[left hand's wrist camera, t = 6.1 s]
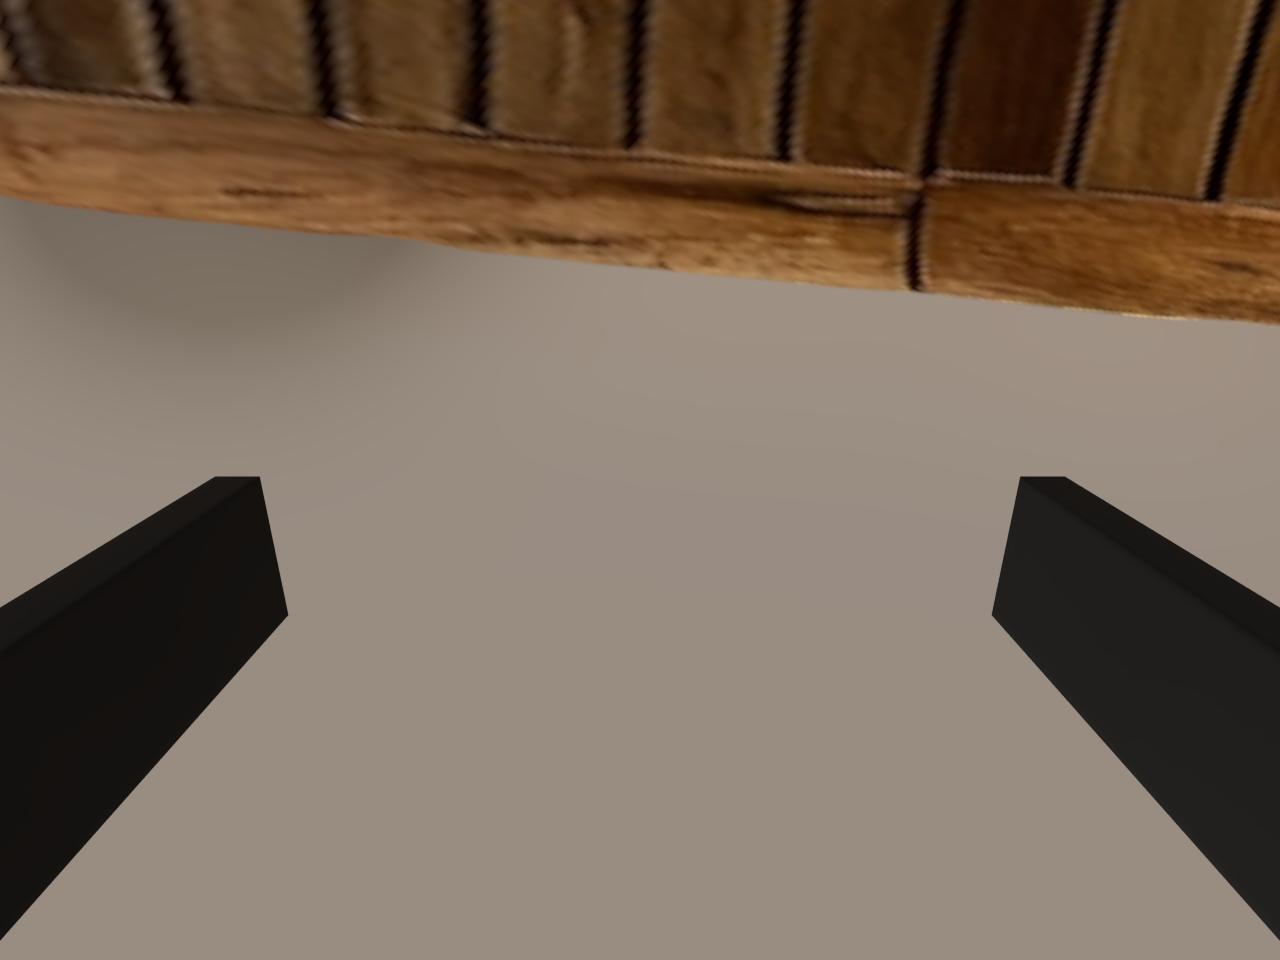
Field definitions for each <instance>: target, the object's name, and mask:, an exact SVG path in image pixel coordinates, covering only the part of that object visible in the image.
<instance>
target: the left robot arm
mask: <svg viewBox="0 0 1280 960" xmlns="http://www.w3.org/2000/svg"><path fill="white" fill-rule="evenodd" d="M287 616H288V611H287V606H286V601H285V596H284V592H283V587H282V582H281V577H280V572H279V568H278V563H277V558H276V553H275V548H274V544H273V538H272V534H271V529H270V524H269V519H268V514H267V510H266V505H265V500H264V495H263V490H262V486H261V481H260V477H214V478H212V479H210V480H209V481H207V482H206V483H204V484H202V485H201V486H199V487H197V488H196V489H194V490H192V491H191V492H189V493H188V494H186V495H184V496H183V497H181V498H179V499H178V500H176V501H174V502H173V503H171V504H169V505H168V506H166V507H164V508H163V509H161V510H160V511H158V512H156V513H155V514H153V515H151V516H150V517H148V518H146V519H145V520H143V521H142V522H140V523H138V524H137V525H135V526H133V527H132V528H130V529H128V530H127V531H125V532H123V533H122V534H120V535H119V536H117V537H115V538H114V539H112V540H110V541H109V542H107V543H105V544H104V545H102V546H101V547H99V548H97V549H96V550H94V551H92V552H91V553H89V554H87V555H86V556H84V557H83V558H81V559H79V560H78V561H76V562H74V563H73V564H71V565H69V566H68V567H66V568H64V569H63V570H61V571H59V572H58V573H56V574H55V575H53V576H51V577H50V578H48V579H46V580H45V581H43V582H41V583H40V584H38V585H36V586H35V587H33V588H32V589H30V590H28V591H27V592H25V593H23V594H22V595H20V596H18V597H17V598H15V599H14V600H12V601H10V602H9V603H7V604H5V605H4V606H2V607H0V940H1V939H2V938H3V937H4V936H5V934H6V933H7V932H8V931H9V930H10V929H11V928H12V927H13V925H14V924H15V923H16V922H17V921H18V920H19V919H20V918H21V916H22V915H23V914H24V913H25V912H26V911H27V910H28V909H29V907H30V906H31V905H32V904H33V903H34V902H35V901H36V899H37V898H38V897H39V896H40V895H41V894H42V893H43V892H44V890H45V889H46V888H47V887H48V886H49V885H50V884H51V883H52V881H53V880H54V879H55V878H56V877H57V876H58V875H59V873H60V872H61V871H62V870H63V869H64V868H65V867H66V866H67V864H68V863H69V862H70V861H71V860H72V859H73V858H74V856H75V855H76V854H77V853H78V852H79V851H80V850H81V849H82V848H83V846H84V845H85V844H86V843H87V842H88V841H89V840H90V838H91V837H92V836H93V835H94V834H95V833H96V832H97V831H98V829H99V828H100V827H101V826H102V825H103V824H104V823H105V822H106V820H107V819H108V818H109V817H110V816H111V815H112V814H113V812H114V811H115V810H116V809H117V808H118V807H119V806H120V805H121V803H122V802H123V801H124V800H125V799H126V798H127V797H128V796H129V794H130V793H131V792H132V791H133V790H134V789H135V788H136V787H137V785H138V784H139V783H140V782H141V781H142V780H143V779H144V777H145V776H146V775H147V774H148V773H149V772H150V771H151V770H152V768H153V767H154V766H155V765H156V764H157V763H158V762H159V761H160V759H161V758H162V757H163V756H164V755H165V754H166V753H167V751H168V750H169V749H170V748H171V747H172V746H173V745H174V744H175V742H176V741H177V740H178V739H179V738H180V737H181V736H182V735H183V733H184V732H185V731H186V730H187V729H188V728H189V727H190V726H191V724H192V723H193V722H194V721H195V720H196V719H197V718H198V716H199V715H200V714H201V713H202V712H203V711H204V710H205V709H206V707H207V706H208V705H209V704H210V703H211V702H212V701H213V699H214V698H215V697H216V696H217V695H218V694H219V693H220V692H221V690H222V689H223V688H224V687H225V686H226V685H227V684H228V683H229V681H230V680H231V679H232V678H233V677H234V676H235V675H236V674H237V672H238V671H239V670H240V669H241V668H242V667H243V666H244V665H245V663H246V662H247V661H248V660H249V659H250V658H251V657H252V655H253V654H254V653H255V652H256V651H257V650H258V649H259V648H260V646H261V645H262V644H263V643H264V642H265V641H266V640H267V639H268V637H269V636H270V635H271V634H272V633H273V632H274V631H275V629H276V628H277V627H278V626H279V625H280V624H281V623H282V622H283V620H284V619H285V618H286V617H287ZM992 616H993V617H994V618H995V619H996V620H997V622H998V623H999V624H1000V625H1001V626H1002V627H1003V628H1004V630H1005V631H1006V632H1007V633H1008V634H1009V635H1010V636H1011V637H1012V638H1013V640H1014V641H1015V642H1016V643H1017V644H1018V645H1019V646H1020V648H1021V649H1022V650H1023V651H1024V652H1025V653H1026V654H1027V655H1028V657H1029V658H1030V659H1031V660H1032V661H1033V662H1034V663H1035V665H1036V666H1037V667H1038V668H1039V669H1040V670H1041V671H1042V672H1043V674H1044V675H1045V676H1046V677H1047V678H1048V679H1049V680H1050V681H1051V683H1052V684H1053V685H1054V686H1055V687H1056V688H1057V689H1058V690H1059V692H1060V693H1061V694H1062V695H1063V696H1064V697H1065V698H1066V700H1067V701H1068V702H1069V703H1070V704H1071V705H1072V706H1073V707H1074V709H1075V710H1076V711H1077V712H1078V713H1079V714H1080V715H1081V716H1082V718H1083V719H1084V720H1085V721H1086V722H1087V723H1088V724H1089V725H1090V727H1091V728H1092V729H1093V730H1094V731H1095V732H1096V733H1097V735H1098V736H1099V737H1100V738H1101V739H1102V740H1103V741H1104V742H1105V744H1106V745H1107V746H1108V747H1109V748H1110V749H1111V750H1112V751H1113V753H1114V754H1115V755H1116V756H1117V757H1118V758H1119V759H1120V760H1121V762H1122V763H1123V764H1124V765H1125V766H1126V767H1127V768H1128V770H1129V771H1130V772H1131V773H1132V774H1133V775H1134V776H1135V777H1136V779H1137V780H1138V781H1139V782H1140V783H1141V784H1142V785H1143V787H1144V788H1145V789H1146V790H1147V791H1148V792H1149V793H1150V794H1151V796H1152V797H1153V798H1154V799H1155V800H1156V801H1157V802H1158V803H1159V805H1160V806H1161V807H1162V808H1163V809H1164V810H1165V811H1166V812H1167V814H1168V815H1169V816H1170V817H1171V818H1172V819H1173V820H1174V822H1175V823H1176V824H1177V825H1178V826H1179V827H1180V828H1181V829H1182V831H1183V832H1184V833H1185V834H1186V835H1187V836H1188V837H1189V838H1190V840H1191V841H1192V842H1193V843H1194V844H1195V845H1196V846H1197V847H1198V849H1199V850H1200V851H1201V852H1202V853H1203V854H1204V855H1205V857H1206V858H1207V859H1208V860H1209V861H1210V862H1211V863H1212V864H1213V866H1214V867H1215V868H1216V869H1217V870H1218V871H1219V872H1220V873H1221V875H1222V876H1223V877H1224V878H1225V879H1226V880H1227V881H1228V882H1229V884H1230V885H1231V886H1232V887H1233V888H1234V889H1235V890H1236V892H1237V893H1238V894H1239V895H1240V896H1241V897H1242V898H1243V899H1244V901H1245V902H1246V903H1247V904H1248V905H1249V906H1250V907H1251V908H1252V910H1253V911H1254V912H1255V913H1256V914H1257V915H1258V916H1259V918H1260V919H1261V920H1262V921H1263V922H1264V923H1265V924H1266V925H1267V927H1268V928H1269V929H1270V930H1271V931H1272V932H1273V933H1274V934H1275V936H1276V937H1277V938H1278V939H1279V940H1280V607H1278V606H1276V605H1275V604H1273V603H1271V602H1270V601H1268V600H1267V599H1265V598H1263V597H1262V596H1260V595H1258V594H1257V593H1255V592H1253V591H1252V590H1250V589H1248V588H1247V587H1245V586H1243V585H1242V584H1240V583H1239V582H1237V581H1235V580H1234V579H1232V578H1230V577H1229V576H1227V575H1225V574H1224V573H1222V572H1221V571H1219V570H1217V569H1216V568H1214V567H1212V566H1211V565H1209V564H1207V563H1206V562H1204V561H1202V560H1201V559H1199V558H1198V557H1196V556H1194V555H1193V554H1191V553H1189V552H1188V551H1186V550H1184V549H1183V548H1181V547H1179V546H1178V545H1176V544H1175V543H1173V542H1171V541H1170V540H1168V539H1166V538H1165V537H1163V536H1161V535H1160V534H1158V533H1157V532H1155V531H1153V530H1152V529H1150V528H1148V527H1147V526H1145V525H1143V524H1142V523H1140V522H1138V521H1137V520H1135V519H1134V518H1132V517H1130V516H1129V515H1127V514H1125V513H1124V512H1122V511H1120V510H1119V509H1117V508H1116V507H1114V506H1112V505H1110V504H1109V503H1107V502H1106V501H1104V500H1102V499H1101V498H1099V497H1097V496H1096V495H1094V494H1092V493H1091V492H1089V491H1088V490H1086V489H1084V488H1083V487H1081V486H1079V485H1078V484H1076V483H1074V482H1073V481H1071V480H1070V479H1068V478H1066V477H1020V481H1019V486H1018V490H1017V495H1016V500H1015V505H1014V510H1013V514H1012V519H1011V524H1010V529H1009V534H1008V538H1007V543H1006V548H1005V553H1004V558H1003V563H1002V568H1001V572H1000V577H999V582H998V587H997V592H996V596H995V601H994V606H993V611H992Z"/></svg>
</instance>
